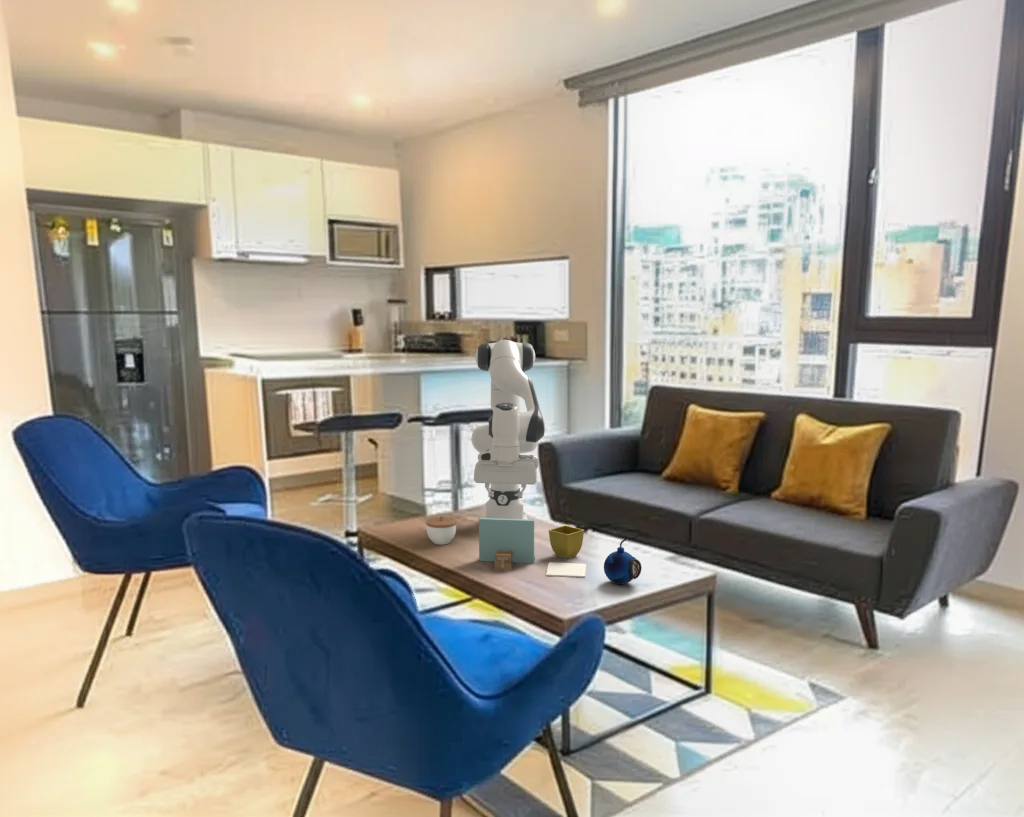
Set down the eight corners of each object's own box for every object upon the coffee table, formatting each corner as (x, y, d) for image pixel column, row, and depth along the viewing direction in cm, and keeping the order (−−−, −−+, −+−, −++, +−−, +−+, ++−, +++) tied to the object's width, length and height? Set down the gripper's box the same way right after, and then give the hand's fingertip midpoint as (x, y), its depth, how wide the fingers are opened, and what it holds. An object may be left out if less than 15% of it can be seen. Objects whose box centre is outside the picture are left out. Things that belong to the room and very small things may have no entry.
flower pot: (547, 555, 246) (547, 529, 245) (564, 550, 253) (564, 524, 252) (567, 561, 240) (567, 534, 239) (584, 555, 246) (584, 529, 245)
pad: (549, 563, 238) (549, 562, 238) (586, 565, 237) (586, 563, 237) (546, 575, 226) (546, 574, 226) (585, 577, 225) (585, 576, 225)
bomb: (630, 592, 212) (631, 541, 211) (597, 584, 219) (598, 535, 217) (645, 583, 220) (646, 534, 218) (613, 575, 227) (614, 528, 225)
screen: (481, 556, 246) (481, 515, 244) (535, 558, 243) (535, 517, 242) (479, 560, 241) (479, 519, 239) (533, 563, 239) (533, 520, 237)
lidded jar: (462, 540, 264) (462, 514, 263) (446, 548, 255) (445, 521, 254) (437, 536, 269) (437, 511, 268) (420, 543, 260) (420, 517, 259)
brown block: (497, 565, 237) (497, 550, 236) (512, 565, 236) (512, 550, 236) (494, 570, 232) (494, 554, 231) (510, 570, 231) (510, 555, 231)
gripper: (539, 453, 235) (538, 496, 236) (476, 452, 238) (476, 494, 239) (537, 456, 229) (537, 500, 230) (472, 455, 232) (472, 498, 233)
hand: (505, 497), depth 235 cm, fingers open, 8 cm apart
